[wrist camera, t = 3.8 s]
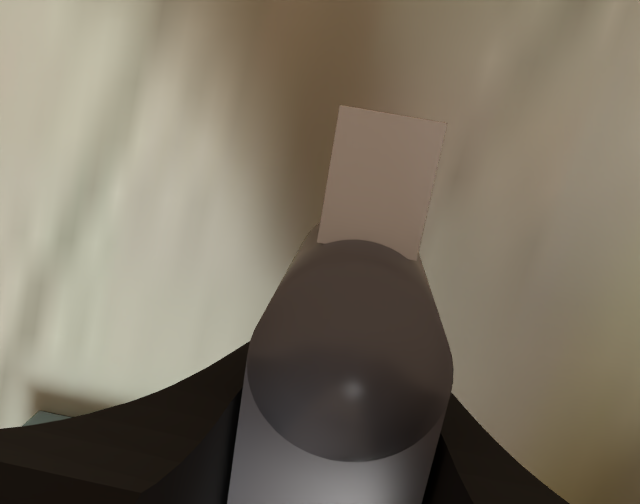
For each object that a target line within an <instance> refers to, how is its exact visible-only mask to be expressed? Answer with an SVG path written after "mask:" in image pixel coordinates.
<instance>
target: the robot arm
mask: <svg viewBox="0 0 640 504" xmlns="http://www.w3.org/2000/svg"><path fill="white" fill-rule="evenodd" d="M249 344H250V341H249V342H248V343H246V344H245V345H243V346H241V347H240V348H238V349H237V350H235V351H233V352H232V353H230V354H229V355H227V356H225V357H224V358H222V359H221V360H219V361H217V362H216V363H214V364H212V365H211V366H209V367H207V368H205V369H203V370H202V371H200V372H198V373H196V374H194V375H192V376H190V377H188V378H186V379H184V380H182V381H180V382H178V383H176V384H174V385H172V386H170V387H167V388H165V389H163V390H160V391H158V392H155V393H153V394H150V395H148V396H145V397H142V398H140V399H137V400H134V401H131V402H128V403H125V404H121V405H118V406H114V407H111V408H107V409H104V410H100V411H97V412H93V413H90V414H85V415H81V416H77V417H72V418H67V419H63V420H57V421H52V422H46V423H41V424H35V425H28V426H22V427H13V428H4V429H0V504H227V501H228V493H229V486H230V479H231V471H232V464H233V456H234V449H235V442H236V434H237V427H238V420H239V412H240V405H241V398H242V390H243V383H244V376H245V368H246V361H247V354H248V349H249ZM422 504H569V503H568V502H567V501H565V500H564V499H563V498H561V497H560V496H559V495H557V494H556V493H555V492H553V491H552V490H551V489H549V488H548V487H547V486H546V485H545V484H543V483H542V482H541V481H540V480H538V479H537V478H536V477H535V476H534V475H532V474H531V473H530V472H529V471H528V470H526V469H525V468H524V467H523V466H522V465H521V464H519V463H518V462H517V461H516V460H515V459H514V458H513V457H512V456H511V455H510V454H509V453H508V452H507V451H506V450H505V449H503V448H502V447H501V446H500V445H499V444H498V443H497V442H496V441H495V440H494V439H493V438H492V437H491V436H490V435H489V434H488V433H487V432H486V431H485V430H484V428H483V427H482V426H481V425H480V424H479V423H478V422H477V421H476V420H475V419H474V418H473V417H472V415H471V414H470V413H469V412H468V411H467V410H466V409H465V408H464V406H463V405H462V404H461V403H460V402H459V401H458V400H457V398H456V397H455V396H454V395H453V394H452V393H451V394H450V398H449V402H448V406H447V409H446V413H445V417H444V421H443V425H442V428H441V432H440V436H439V440H438V443H437V447H436V451H435V455H434V458H433V462H432V466H431V470H430V474H429V477H428V481H427V485H426V489H425V492H424V496H423V500H422Z"/></svg>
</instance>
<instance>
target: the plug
mask: <svg viewBox="0 0 640 504" xmlns="http://www.w3.org/2000/svg"><path fill="white" fill-rule="evenodd" d="M446 128H447V123H445V122H439V121H433V120H427V119H421V118H415V117H409V116H403V115H397V114H391V113H386V112H380V111H374V110H368V109H362V108H356V107H350V106H344V105H340V107H339V113H338V119H337V125H336V131H335V137H334V143H333V149H332V155H331V161H330V167H329V173H328V179H327V185H326V191H325V197H324V203H323V209H322V215H321V221H320V223H319V224H318V225H316V226H315V227H314V228H313V229H312V230H311V231H310V232H309V234H308V235H307V236H306V238H305V239H304V241H303V243H302V245H301V247H300V248H299V250H298V252H297V254H296V256H295V257H294V259H293V261H292V263H291V265H290V267H289V268H288V270H287V272H286V274H285V276H284V277H283V279H282V281H281V283H280V285H279V286H278V288H277V290H276V292H275V294H274V295H273V297H272V299H271V301H270V303H269V304H268V306H267V308H266V310H265V312H264V313H263V315H262V317H261V319H260V321H259V323H258V324H257V326H256V328H255V330H254V332H253V335H252V338H251V341H250V344H249V349H248V354H247V361H246V368H245V376H244V383H243V390H242V398H241V405H240V412H239V420H238V427H237V434H236V442H235V449H234V456H233V464H232V471H231V479H230V486H229V493H228V501H227V504H422V500H423V496H424V492H425V489H426V485H427V481H428V477H429V474H430V470H431V466H432V462H433V458H434V455H435V451H436V447H437V443H438V440H439V436H440V432H441V428H442V425H443V421H444V417H445V413H446V409H447V406H448V402H449V398H450V394H451V389H452V384H453V362H452V355H451V352H450V348H449V344H448V341H447V338H446V335H445V332H444V329H443V326H442V323H441V320H440V317H439V313H438V310H437V307H436V304H435V301H434V298H433V295H432V292H431V289H430V286H429V283H428V280H427V277H426V274H425V271H424V268H423V265H422V261H421V258H420V255H419V248H420V243H421V239H422V234H423V230H424V225H425V221H426V217H427V212H428V208H429V203H430V199H431V194H432V190H433V186H434V181H435V177H436V172H437V168H438V163H439V159H440V154H441V150H442V146H443V141H444V137H445V132H446Z"/></svg>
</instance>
